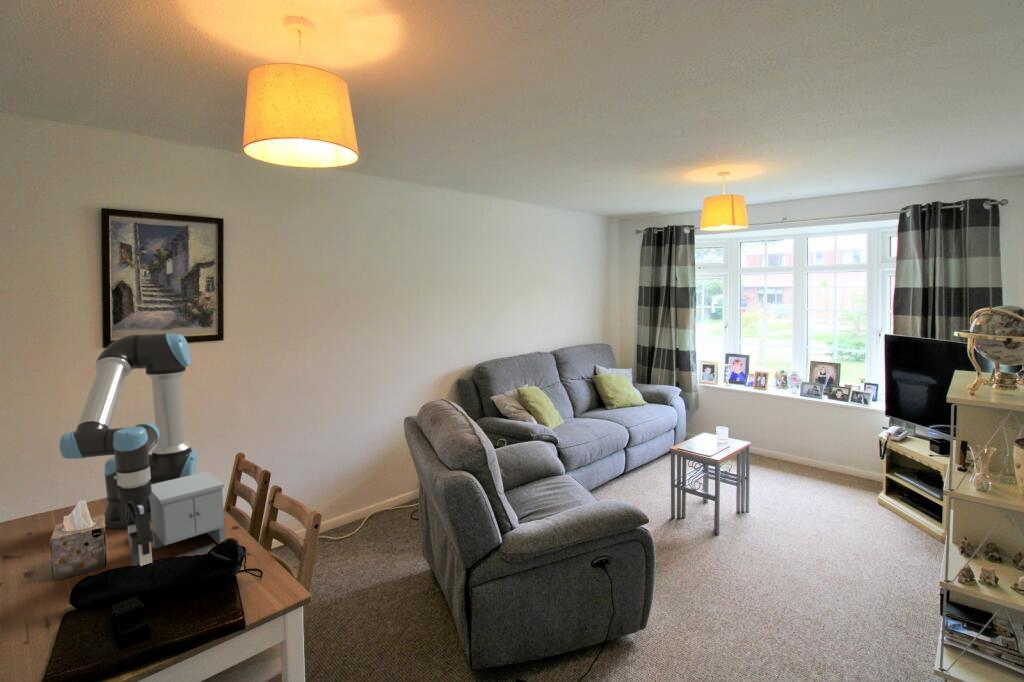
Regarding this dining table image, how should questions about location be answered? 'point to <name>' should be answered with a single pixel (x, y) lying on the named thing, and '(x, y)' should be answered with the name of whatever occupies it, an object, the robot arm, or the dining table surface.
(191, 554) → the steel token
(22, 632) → the dining table surface
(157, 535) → the sideboard cabinet
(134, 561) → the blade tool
